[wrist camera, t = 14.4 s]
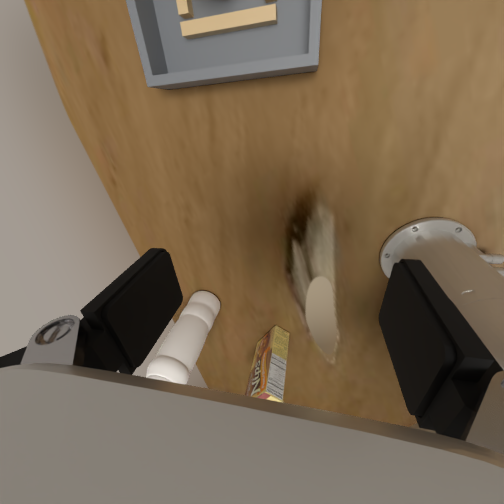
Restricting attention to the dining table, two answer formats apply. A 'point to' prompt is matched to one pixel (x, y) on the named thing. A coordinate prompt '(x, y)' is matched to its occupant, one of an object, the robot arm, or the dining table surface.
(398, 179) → the dining table surface
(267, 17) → the walled box
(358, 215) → the dining table surface
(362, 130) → the dining table surface
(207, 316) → the water bottle
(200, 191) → the dining table surface
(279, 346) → the candy box
